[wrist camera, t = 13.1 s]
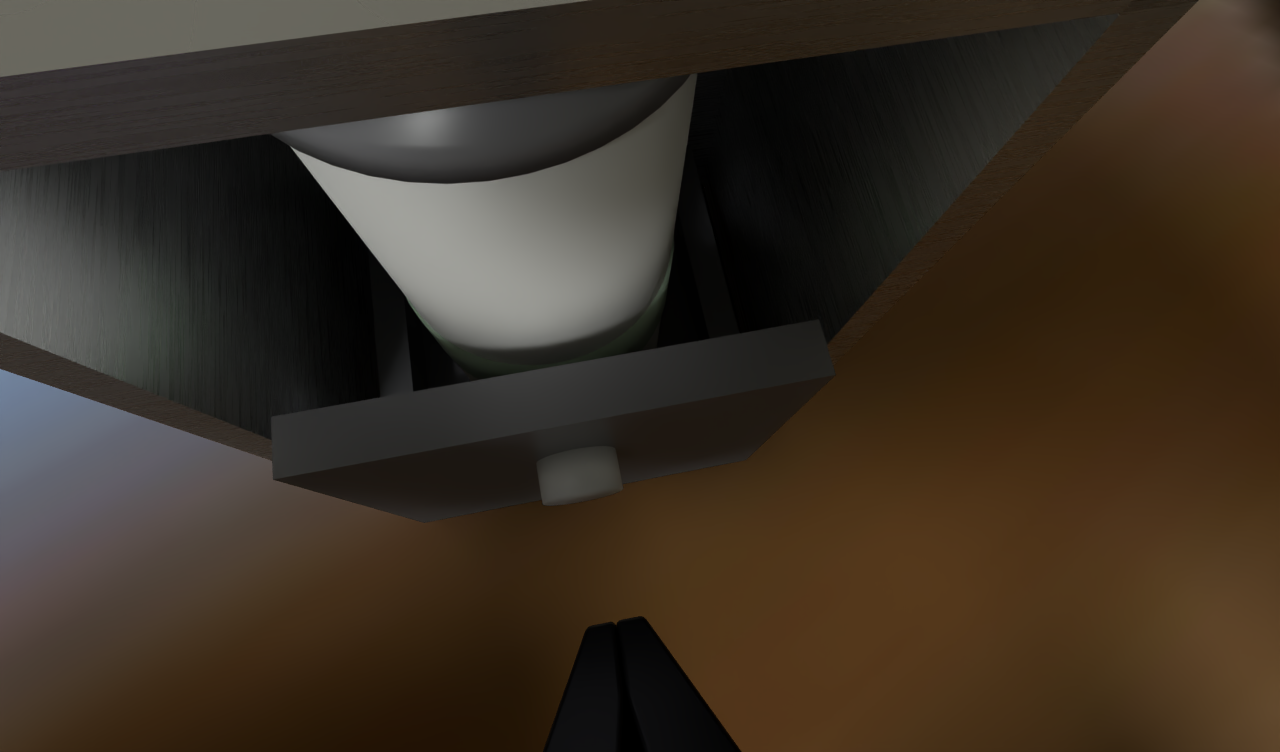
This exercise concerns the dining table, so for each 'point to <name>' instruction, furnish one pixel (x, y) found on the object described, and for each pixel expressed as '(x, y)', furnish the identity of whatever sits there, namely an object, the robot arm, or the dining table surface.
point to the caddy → (467, 75)
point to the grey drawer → (558, 403)
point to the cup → (520, 217)
